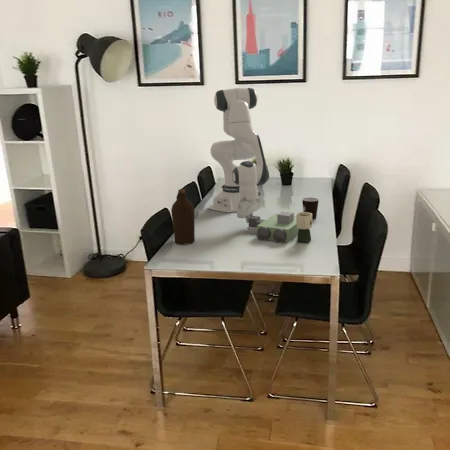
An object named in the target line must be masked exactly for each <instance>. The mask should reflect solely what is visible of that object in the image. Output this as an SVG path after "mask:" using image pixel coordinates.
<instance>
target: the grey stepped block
mask: <svg viewBox="0 0 450 450" xmlns="http://www.w3.org/2000/svg"><path fill="white" fill-rule="evenodd" d="M265 220H266V219H261V216H259V215H253V216H251V217H250V218H249V223H248V227H256V228H257V225H259V224H260V223H262V222H263V221H265Z"/></svg>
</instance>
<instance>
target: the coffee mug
mask: <svg viewBox="0 0 450 450" xmlns="http://www.w3.org/2000/svg"><path fill="white" fill-rule="evenodd" d="M319 200H320V199H319V197H315V196H314V197H313V196H311V197H309V196H307V197H304V198H302V199H301V202H302V212H309V213H312V220H315V219H317V215H318V208H319Z"/></svg>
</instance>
